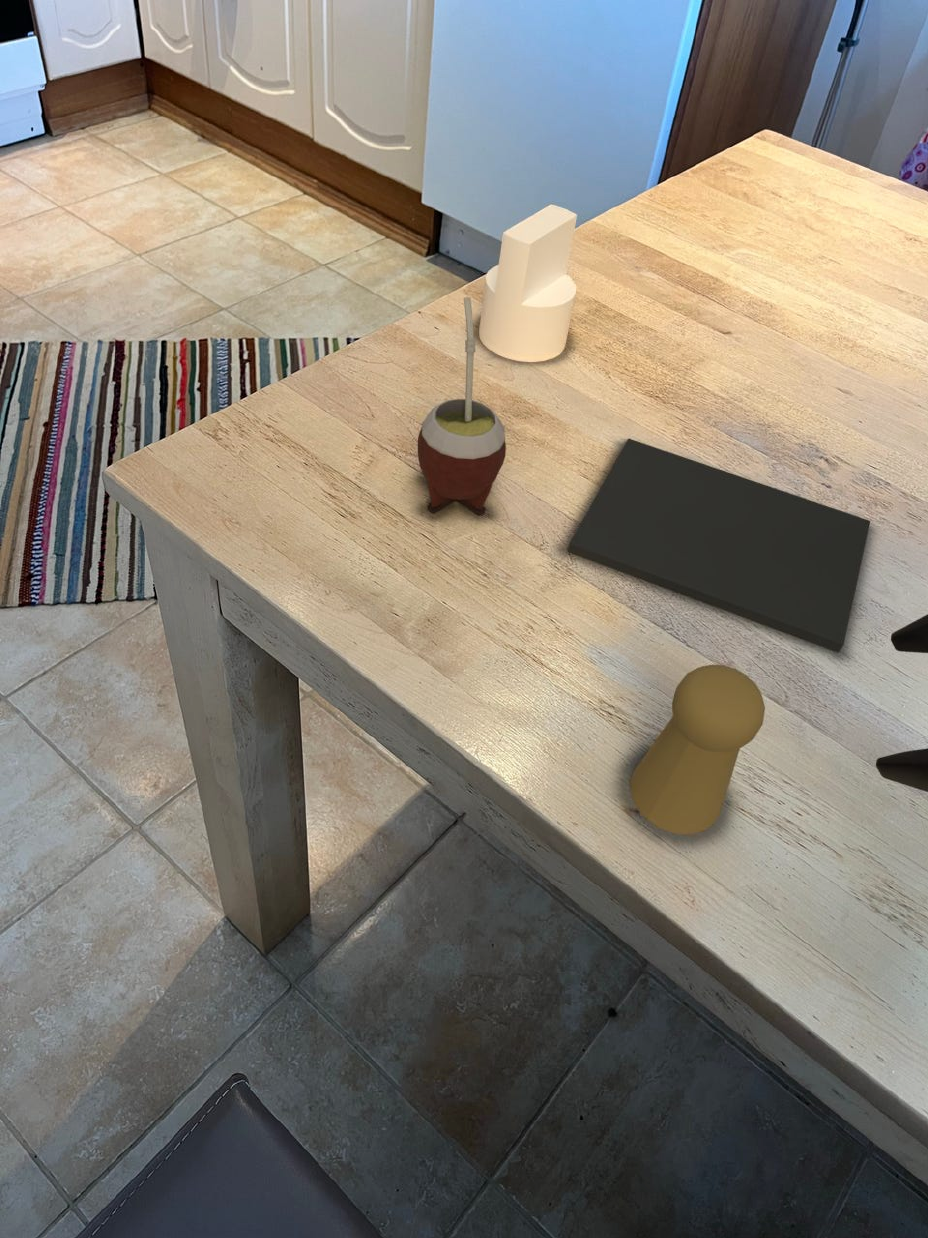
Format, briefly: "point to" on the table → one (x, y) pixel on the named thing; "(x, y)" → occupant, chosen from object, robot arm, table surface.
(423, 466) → the mate gourd
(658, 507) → the mat
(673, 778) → the mustard peg figure
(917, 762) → the robot arm
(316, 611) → the table surface
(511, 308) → the base with upright slab
